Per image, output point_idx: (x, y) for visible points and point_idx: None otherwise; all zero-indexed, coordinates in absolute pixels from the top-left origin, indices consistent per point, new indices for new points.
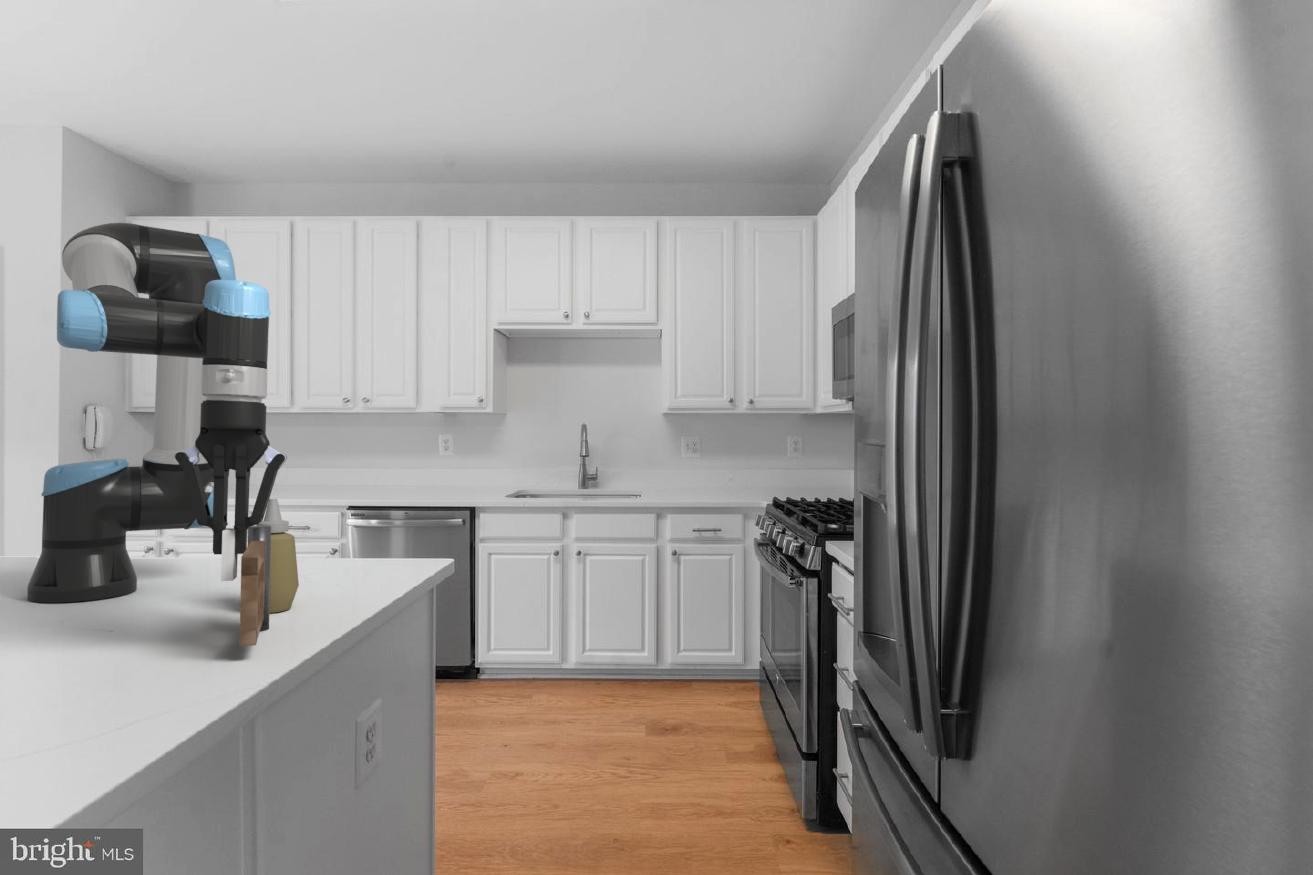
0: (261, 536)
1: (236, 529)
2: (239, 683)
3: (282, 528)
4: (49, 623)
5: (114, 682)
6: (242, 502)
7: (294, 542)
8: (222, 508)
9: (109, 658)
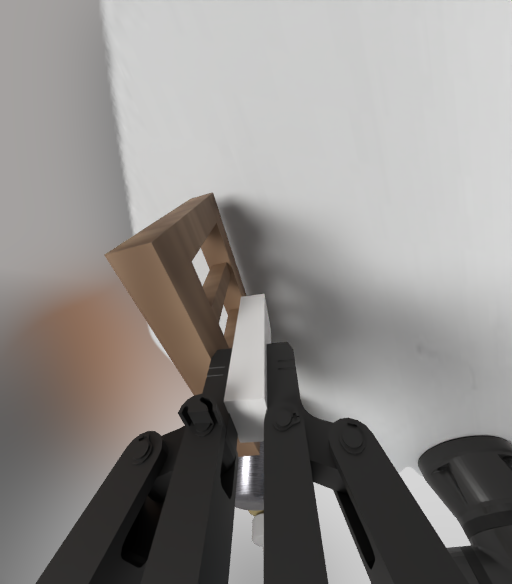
0: (243, 469)
1: (206, 397)
2: (160, 48)
3: (256, 523)
4: (487, 379)
5: (370, 88)
6: (158, 578)
7: None
8: (269, 523)
9: (402, 233)
